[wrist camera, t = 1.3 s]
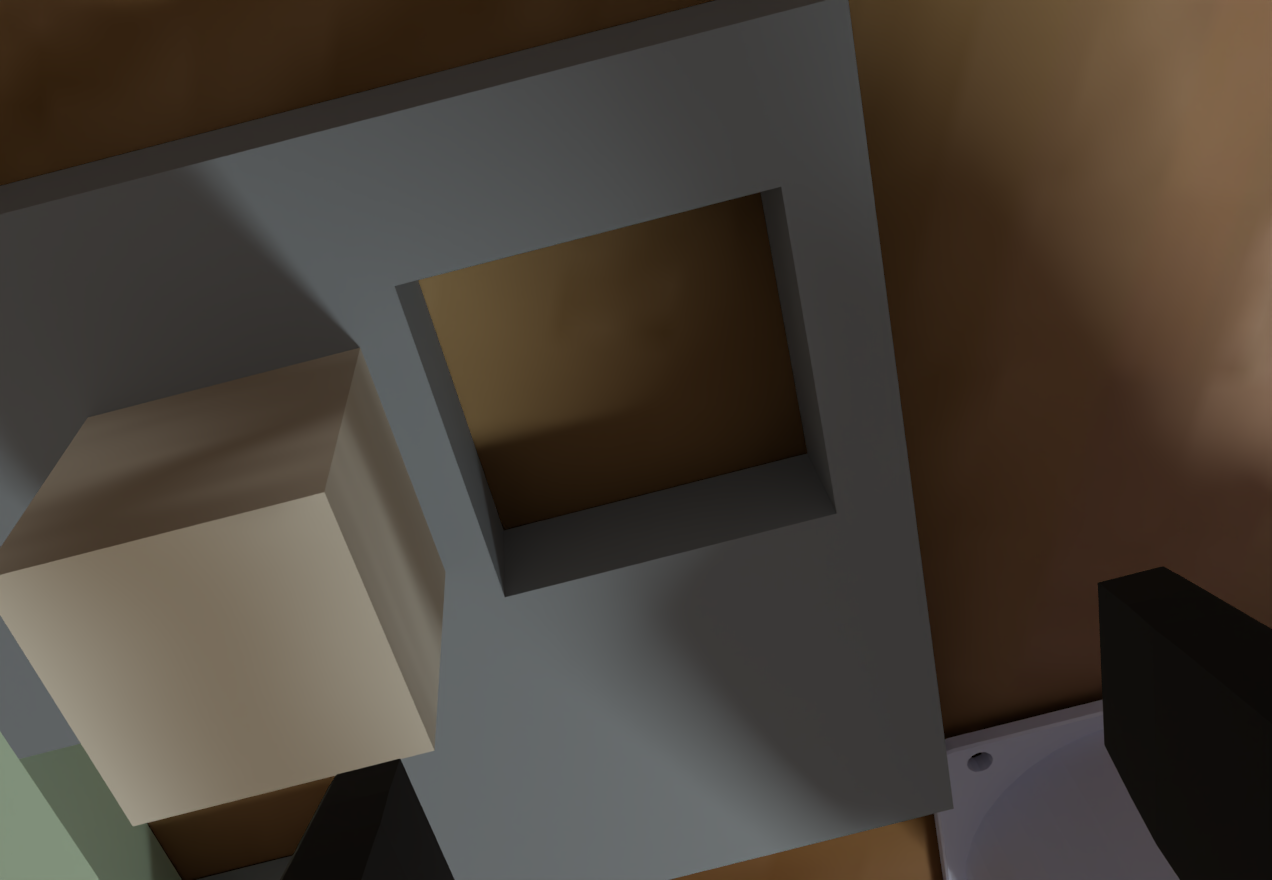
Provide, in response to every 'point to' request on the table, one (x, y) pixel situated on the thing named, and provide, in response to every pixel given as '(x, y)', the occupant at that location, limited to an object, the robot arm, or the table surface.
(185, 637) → the block
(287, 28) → the table surface
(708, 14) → the board
